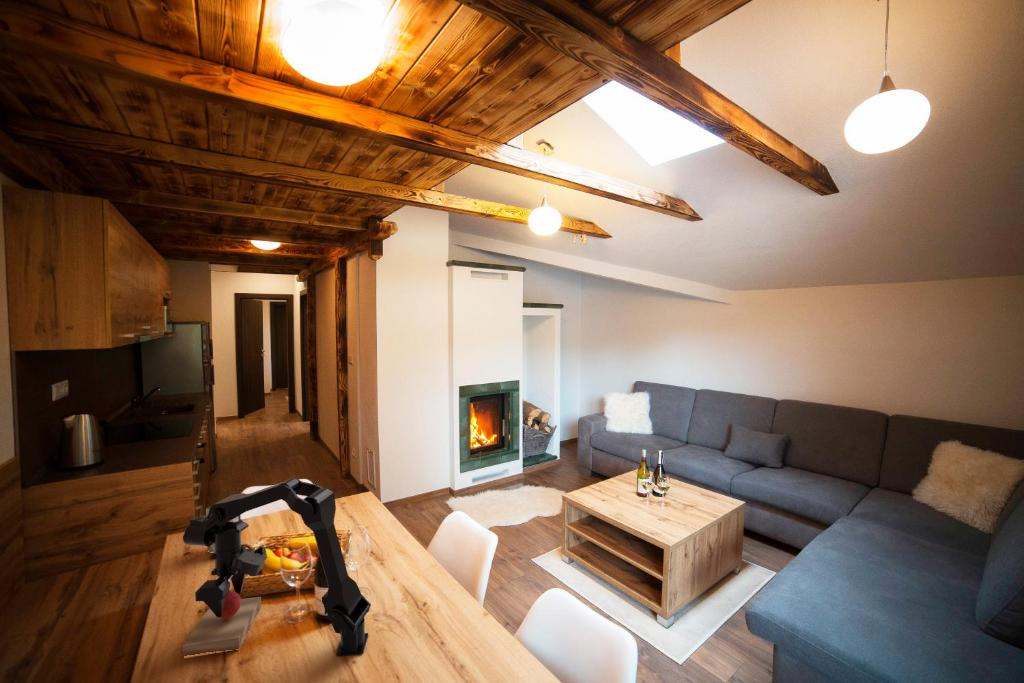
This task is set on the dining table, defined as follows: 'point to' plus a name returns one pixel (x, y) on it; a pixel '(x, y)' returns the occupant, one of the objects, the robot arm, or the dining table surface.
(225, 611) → the onion
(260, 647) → the dining table surface
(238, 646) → the grey flat block
